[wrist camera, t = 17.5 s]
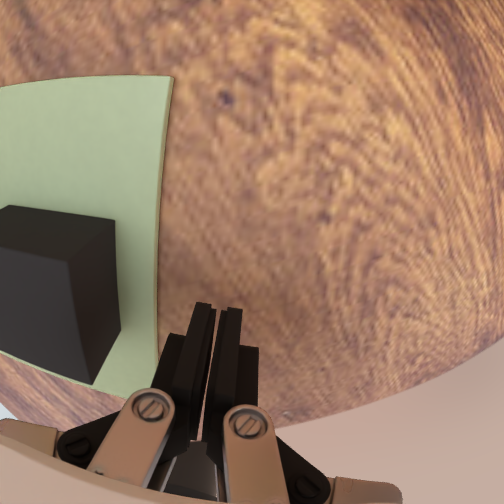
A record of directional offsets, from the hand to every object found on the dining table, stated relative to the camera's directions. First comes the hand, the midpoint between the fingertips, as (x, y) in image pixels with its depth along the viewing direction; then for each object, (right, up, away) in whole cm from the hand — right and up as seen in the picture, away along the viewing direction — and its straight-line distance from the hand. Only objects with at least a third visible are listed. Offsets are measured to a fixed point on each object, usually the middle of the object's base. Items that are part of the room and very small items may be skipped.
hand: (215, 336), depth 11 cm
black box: (-8, +2, +2) cm, 9 cm away
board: (-12, +3, +2) cm, 13 cm away
